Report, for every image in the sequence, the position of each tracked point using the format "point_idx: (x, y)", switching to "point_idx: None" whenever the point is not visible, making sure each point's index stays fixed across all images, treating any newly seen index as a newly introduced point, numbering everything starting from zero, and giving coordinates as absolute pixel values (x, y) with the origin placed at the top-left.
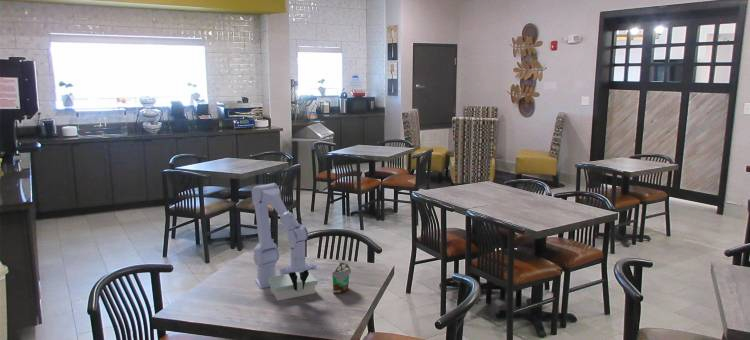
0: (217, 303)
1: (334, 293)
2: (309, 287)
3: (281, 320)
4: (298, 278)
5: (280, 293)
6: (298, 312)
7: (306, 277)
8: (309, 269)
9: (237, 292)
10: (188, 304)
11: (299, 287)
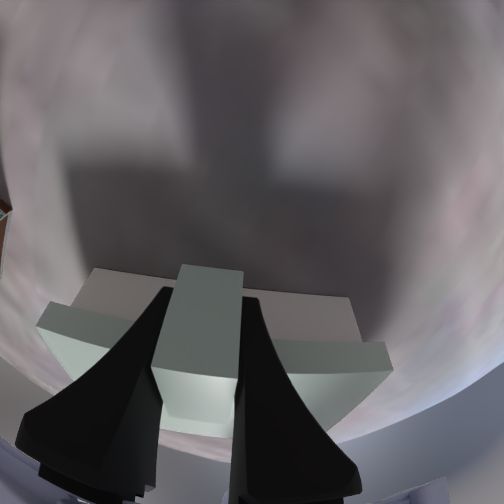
0: (475, 350)
1: (6, 207)
2: (107, 309)
3: (478, 51)
4: (179, 415)
5: (338, 332)
6: (338, 43)
7: (71, 396)
8: (24, 464)
9: (393, 390)
10: (494, 359)
11: (210, 308)
